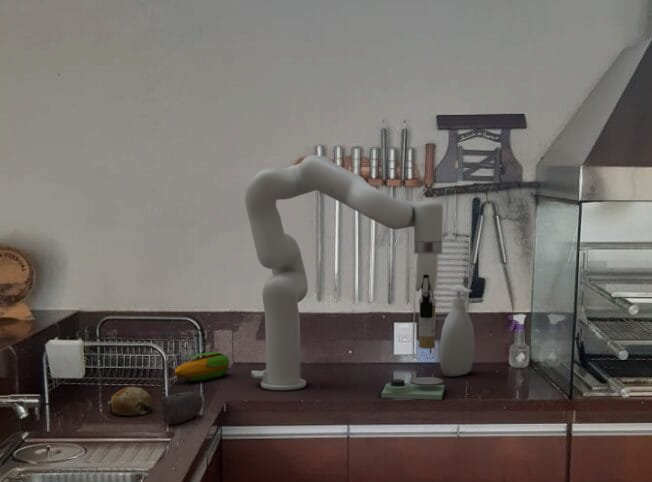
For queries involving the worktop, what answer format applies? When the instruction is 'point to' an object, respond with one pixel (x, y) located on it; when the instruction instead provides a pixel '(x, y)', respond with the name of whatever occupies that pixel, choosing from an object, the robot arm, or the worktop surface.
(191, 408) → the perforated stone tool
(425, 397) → the scale
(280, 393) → the worktop surface
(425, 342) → the sprinkles bottle
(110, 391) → the worktop surface
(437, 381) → the platter
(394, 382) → the power button
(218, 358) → the corn
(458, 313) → the soap bottle
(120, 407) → the bread roll
